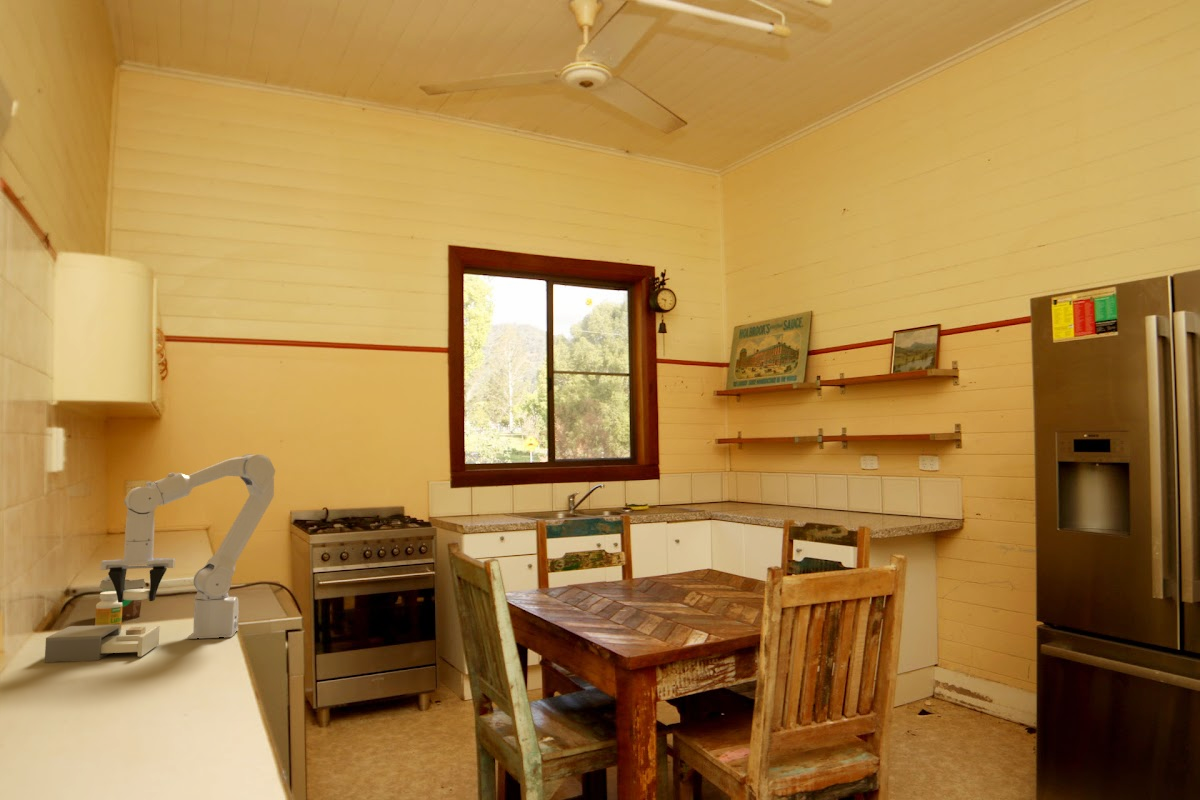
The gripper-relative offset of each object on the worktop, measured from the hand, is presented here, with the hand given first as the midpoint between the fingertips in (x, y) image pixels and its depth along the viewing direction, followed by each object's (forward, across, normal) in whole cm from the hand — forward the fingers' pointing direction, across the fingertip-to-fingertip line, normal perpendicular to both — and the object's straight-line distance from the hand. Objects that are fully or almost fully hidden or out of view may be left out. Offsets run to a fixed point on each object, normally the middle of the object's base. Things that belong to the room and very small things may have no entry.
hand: (136, 601), depth 179 cm
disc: (-1, 0, 0) cm, 1 cm away
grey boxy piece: (+10, +8, +7) cm, 14 cm away
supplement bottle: (+10, +9, -14) cm, 19 cm away
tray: (+9, 0, +7) cm, 12 cm away
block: (+10, 0, 0) cm, 10 cm away
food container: (+10, +12, -33) cm, 37 cm away
